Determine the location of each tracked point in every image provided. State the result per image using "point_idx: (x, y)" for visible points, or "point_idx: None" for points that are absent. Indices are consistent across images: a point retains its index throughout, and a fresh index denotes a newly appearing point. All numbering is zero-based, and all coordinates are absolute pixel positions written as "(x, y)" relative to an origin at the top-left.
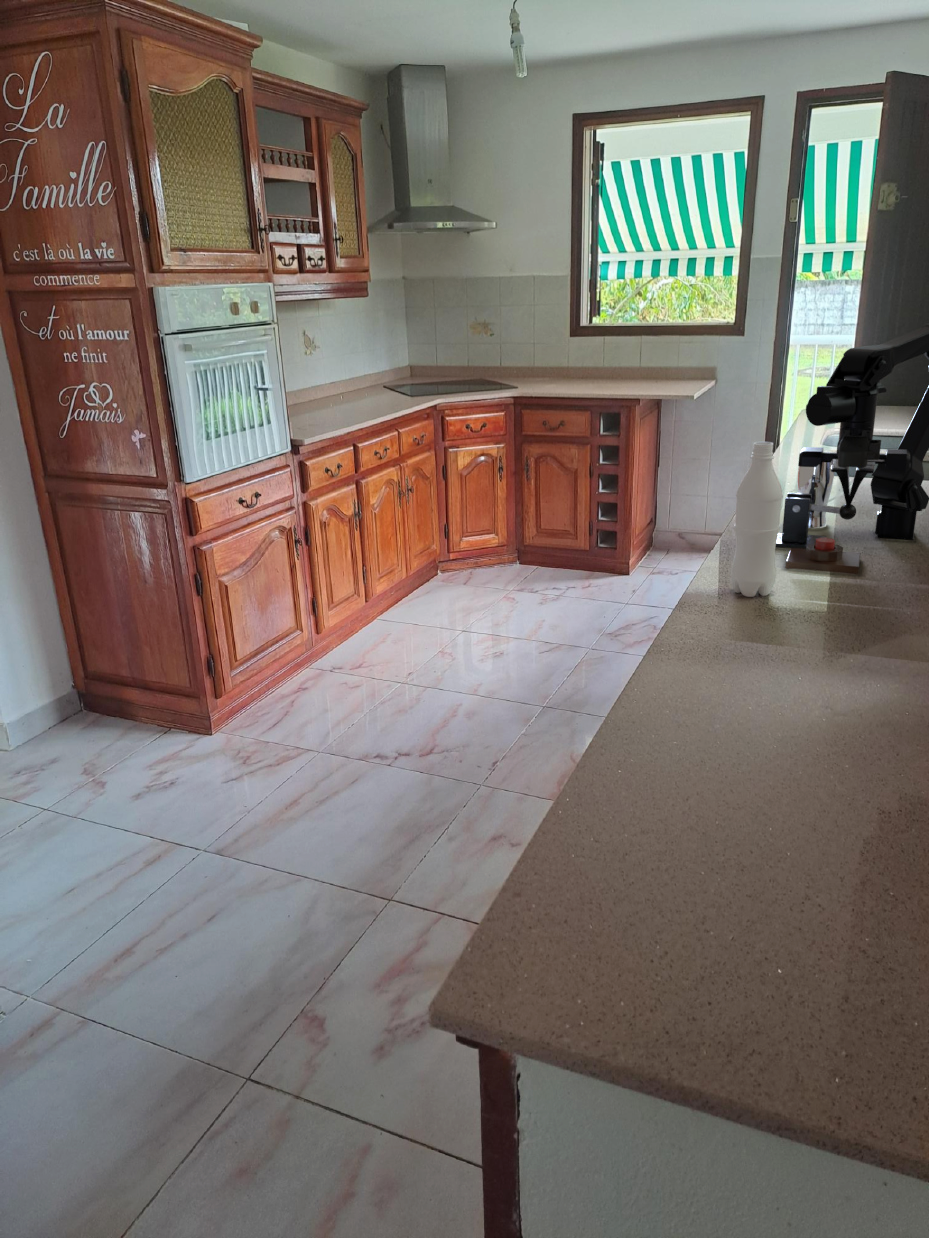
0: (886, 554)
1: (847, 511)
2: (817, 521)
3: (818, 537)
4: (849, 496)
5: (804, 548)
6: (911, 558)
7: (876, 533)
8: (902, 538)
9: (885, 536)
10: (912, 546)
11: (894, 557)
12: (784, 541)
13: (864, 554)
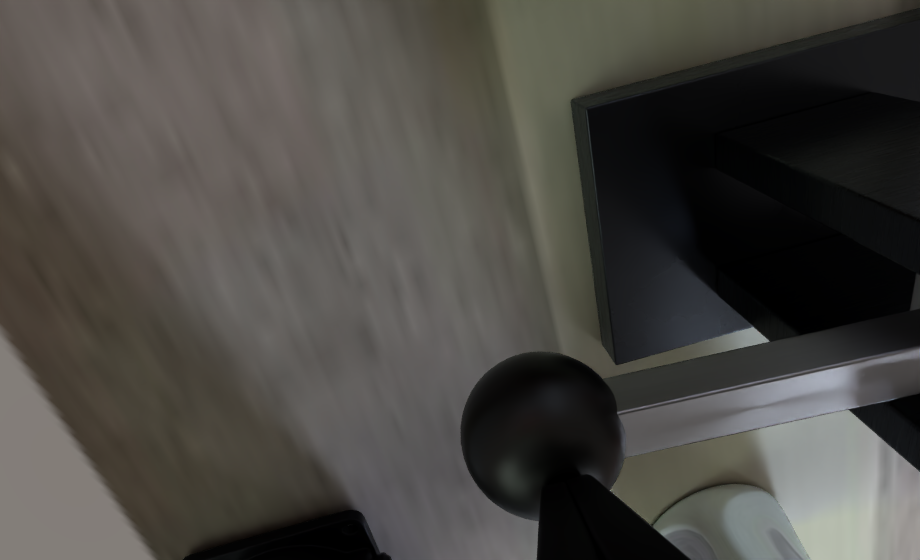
0: (194, 278)
1: (535, 383)
2: (701, 544)
3: (652, 313)
4: (595, 548)
5: (702, 68)
6: (12, 271)
7: (381, 555)
8: (234, 556)
9: (327, 545)
10: (148, 495)
11: (116, 237)
12: (857, 96)
13: (315, 207)
